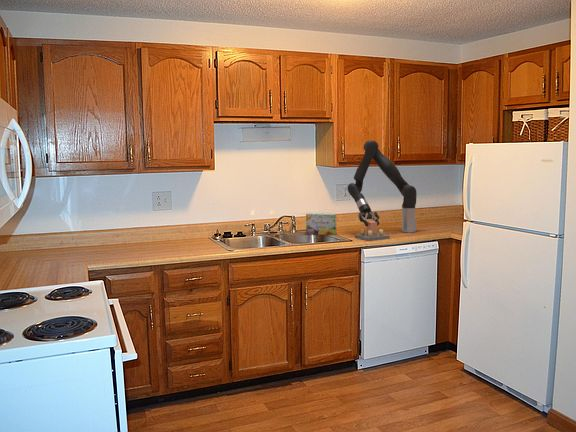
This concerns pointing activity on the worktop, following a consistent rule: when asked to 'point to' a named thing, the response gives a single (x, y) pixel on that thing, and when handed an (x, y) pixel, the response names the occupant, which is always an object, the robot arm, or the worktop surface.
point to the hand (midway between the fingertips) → (372, 225)
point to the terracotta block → (372, 227)
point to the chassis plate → (365, 237)
